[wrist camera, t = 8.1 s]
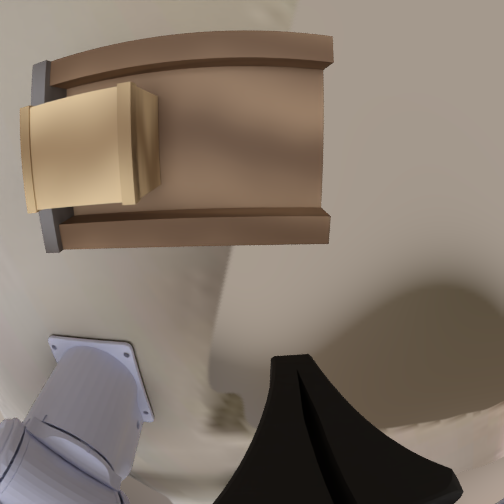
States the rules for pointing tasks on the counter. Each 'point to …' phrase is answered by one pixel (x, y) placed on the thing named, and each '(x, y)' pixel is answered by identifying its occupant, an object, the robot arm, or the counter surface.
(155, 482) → the counter surface
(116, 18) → the counter surface
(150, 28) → the counter surface
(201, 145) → the bay
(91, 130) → the box
